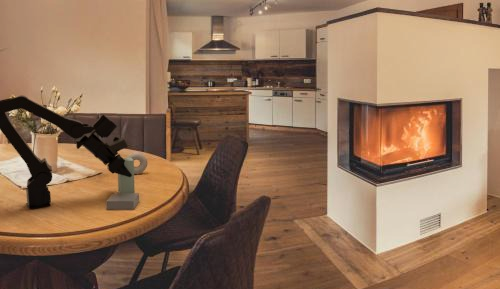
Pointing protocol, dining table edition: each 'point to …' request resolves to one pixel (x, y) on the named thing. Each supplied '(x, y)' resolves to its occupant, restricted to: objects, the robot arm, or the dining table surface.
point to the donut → (142, 162)
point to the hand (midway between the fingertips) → (129, 174)
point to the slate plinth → (122, 201)
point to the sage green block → (127, 178)
